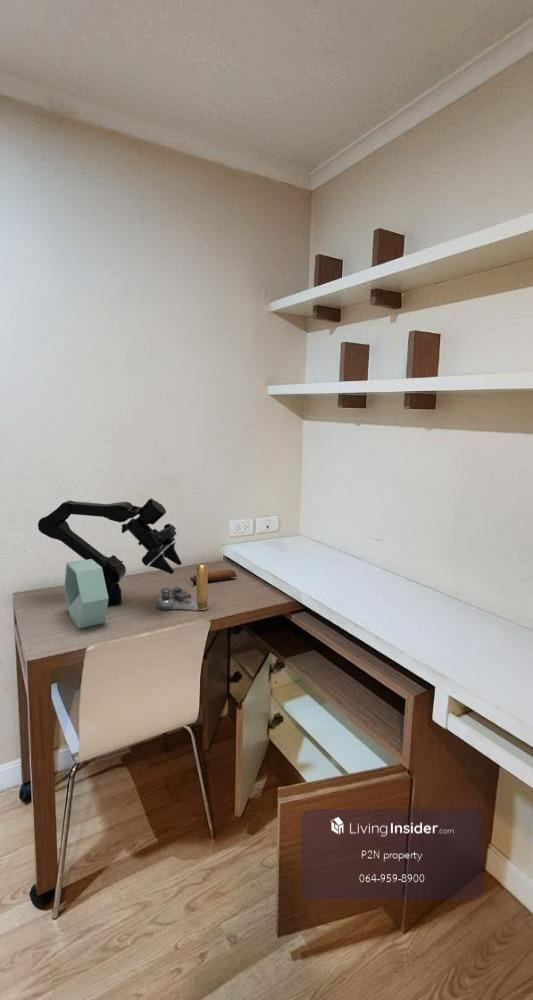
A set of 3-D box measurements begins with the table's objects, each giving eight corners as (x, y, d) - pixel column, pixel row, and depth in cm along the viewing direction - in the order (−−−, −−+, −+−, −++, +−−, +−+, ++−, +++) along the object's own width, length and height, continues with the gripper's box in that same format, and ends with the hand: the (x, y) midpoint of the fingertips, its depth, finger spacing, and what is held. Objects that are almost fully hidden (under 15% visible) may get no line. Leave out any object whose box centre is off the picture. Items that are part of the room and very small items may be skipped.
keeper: (180, 607, 169) (180, 595, 168) (169, 600, 175) (169, 588, 174) (191, 604, 172) (191, 593, 171) (180, 598, 177) (180, 586, 177)
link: (154, 610, 166) (154, 565, 163) (159, 603, 172) (158, 560, 169) (205, 612, 165) (206, 567, 163) (208, 605, 171) (209, 562, 168)
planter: (73, 634, 157) (60, 570, 163) (98, 628, 162) (85, 567, 168) (85, 622, 144) (71, 553, 150) (112, 616, 149) (98, 550, 155)
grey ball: (162, 600, 166) (162, 592, 165) (159, 597, 169) (159, 588, 168) (172, 599, 167) (172, 590, 167) (169, 595, 170) (169, 587, 170)
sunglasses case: (227, 572, 205) (231, 561, 202) (233, 586, 201) (237, 574, 197) (185, 579, 197) (188, 567, 193) (190, 593, 192) (194, 581, 188)
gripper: (151, 524, 155) (186, 561, 156) (169, 511, 173) (200, 545, 174) (127, 547, 157) (161, 584, 158) (147, 532, 176) (178, 565, 177)
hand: (176, 568), depth 167 cm, fingers open, 9 cm apart
